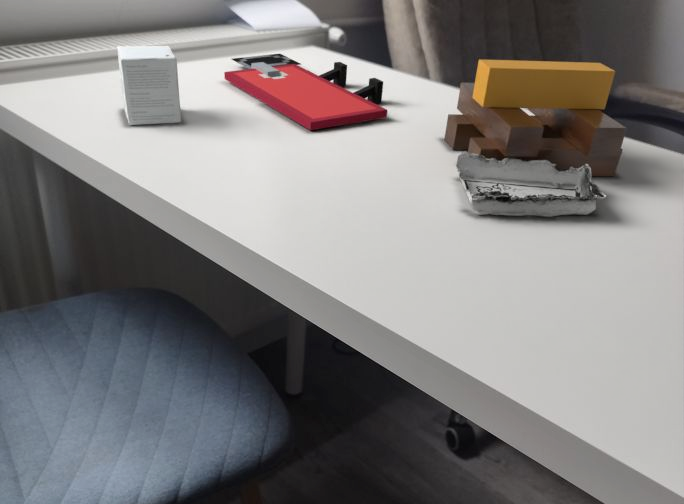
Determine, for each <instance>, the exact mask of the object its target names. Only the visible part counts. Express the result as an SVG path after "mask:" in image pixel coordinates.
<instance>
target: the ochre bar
mask: <svg viewBox="0 0 684 504" xmlns="http://www.w3.org/2000/svg"><path fill="white" fill-rule="evenodd" d="M615 74H616V70H614V69H612V68H610V67H608V66H606V65H605V64H603V63H601V62H585V61H583V62H581V61H579V62H578V61H551V60H550V61H547V60H546V61H545V60H517V59H515V60H514V59H511V60H509V59H478V62H477V68H476V74H475V79H474V80H475V81H474V83H475V85H474V91H473V96H472V98H473V99H474V100H475V101H476V102H477V103H479V104H480V105H481V106H482V107H492V108H521V109H528V108H553V109H598V110H605V109H606V106H607V102H608V99H609V95H610V91H611V89H612V85H613V82H614V77H615Z"/></svg>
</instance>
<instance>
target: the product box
mask: <svg viewBox="0 0 684 504" xmlns="http://www.w3.org/2000/svg"><path fill="white" fill-rule="evenodd" d="M116 47H117V49H116V50H117V59H118V60H117V61H118V68H119V77H120V86H121V87H120V88H121V95H122V103H123V110H124V113H125V116H126V118H127V122H128V126H138V125H152V124H153V125H154V124H173V123H181V122H182V113H181V102H180V85H179V73H178V60H177V58H176V57H177V56H175V54H174V53H173V50H172V49H171V47H170V46H169V45H117V46H116Z"/></svg>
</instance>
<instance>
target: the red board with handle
mask: <svg viewBox="0 0 684 504" xmlns="http://www.w3.org/2000/svg"><path fill="white" fill-rule="evenodd" d="M231 60H232V61H234V62H235V63H237V64H239V65H241V66H243V67H244V68H246V69H238V70H230V71H224V72H223V73H224V80H226V81H227V82H228V83H231V84H232V85H234V86H236V87H237V88H239V89H241V90H242V91H244V92H245V93H247V94H249V95H251V96H252V97H254V98H255V99H257V100H259V101H260V102H262V103H264V104H265V105H267V106H269V107H271V108H272V109H274V110H276V111H277V112H279V113H281V114H283V115H284V116H286V117H287V118H289V119H290V120H293V121H294V122H296V123H298V124H299V125H300V126H303V127H304V128H305V129H308V130H309V131H315V130H321V129H327V128H332V127H338V126H339V127H340V126H344V125H349V124H356V123H363V122H367V121H373V120H379V119H385V118H388V109H386V108H385V107H383V106H380V104H382V101H383V99H382V98H383V89H384V81H383V80H380V79H379V78H377V77H370V78H368V85H366V86H365V87H362V88H360V89H358V90H356V91H354V92H352V91H351V90H348V89H346V88H344V87H347V74H348V65H347V64H346V63H343V62H341V61H335V62H333V69H331V70H328V71H326V72H324V73H322V74H319V75H318V74H316V73H313V72H312V71H310V70H308V69H306V68H304V67H301V66H300V65H302V63H300V62H298V61H297V60H294V59H292V58H290V57H288V56H286V55H284V54H282V53H273V54H272V53H271V54H262V55H252V56H243V57H234V58H231Z"/></svg>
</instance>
